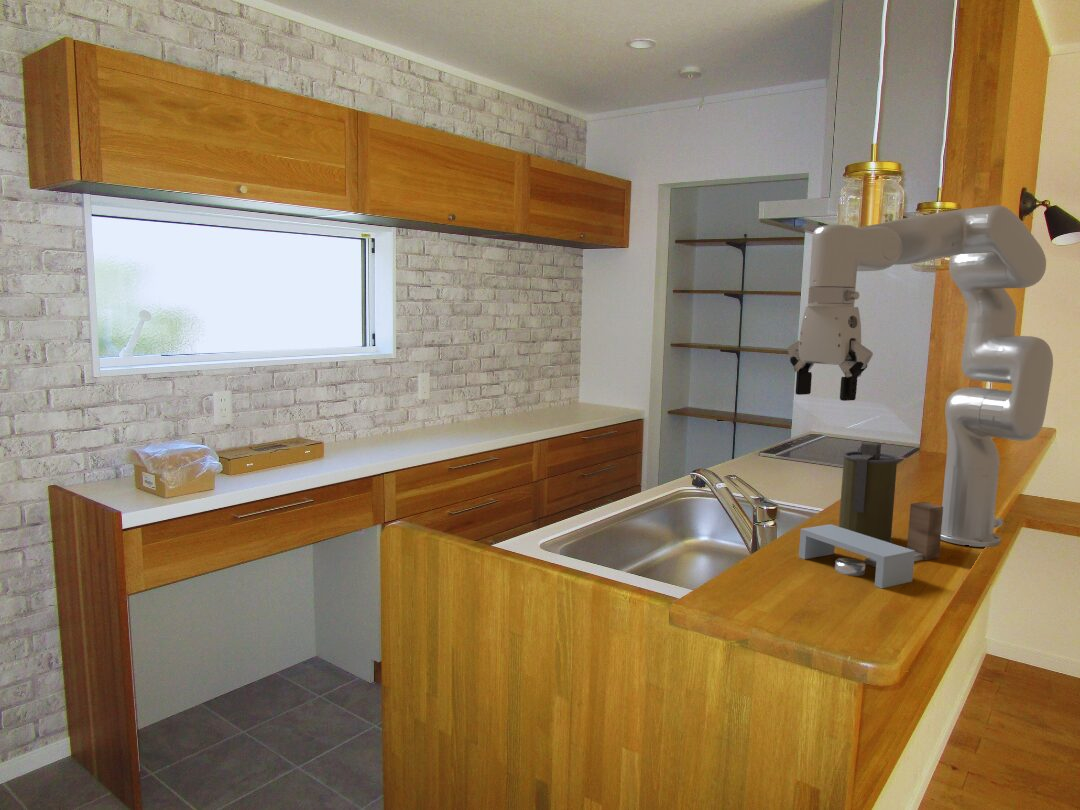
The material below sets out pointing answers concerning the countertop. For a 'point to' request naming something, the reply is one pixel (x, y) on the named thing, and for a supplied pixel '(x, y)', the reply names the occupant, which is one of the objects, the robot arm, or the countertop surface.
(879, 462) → the canister
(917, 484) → the countertop surface
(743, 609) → the countertop surface
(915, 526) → the pusher
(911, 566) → the shelf
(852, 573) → the token
